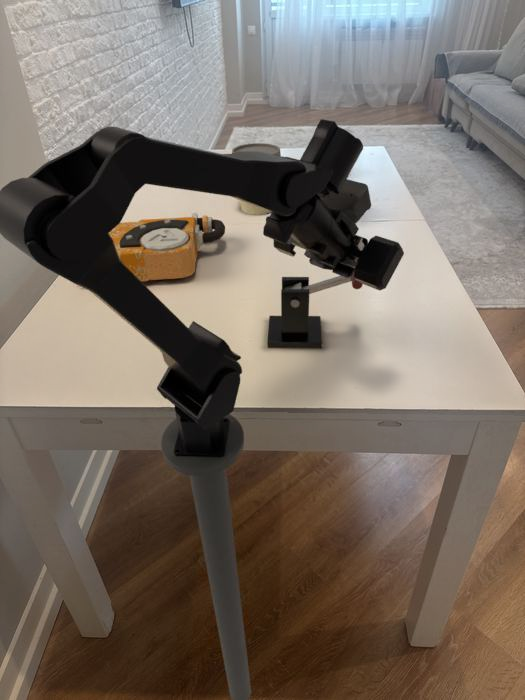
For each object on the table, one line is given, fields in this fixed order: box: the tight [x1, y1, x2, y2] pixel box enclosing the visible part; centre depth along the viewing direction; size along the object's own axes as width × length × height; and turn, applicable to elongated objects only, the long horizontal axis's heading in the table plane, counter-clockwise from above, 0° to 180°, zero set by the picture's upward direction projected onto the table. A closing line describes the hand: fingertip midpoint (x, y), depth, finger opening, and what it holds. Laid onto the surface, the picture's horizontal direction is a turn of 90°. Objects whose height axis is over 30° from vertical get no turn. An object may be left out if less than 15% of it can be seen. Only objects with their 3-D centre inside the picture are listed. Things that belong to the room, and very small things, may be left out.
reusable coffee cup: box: [231, 142, 282, 216], centre depth 126 cm, size 13×13×15 cm
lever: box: [285, 274, 364, 295], centre depth 78 cm, size 12×6×2 cm, turn 87°
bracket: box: [266, 276, 323, 349], centre depth 81 cm, size 9×8×10 cm
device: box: [109, 212, 226, 283], centre depth 105 cm, size 23×8×30 cm
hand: (355, 269), depth 75 cm, fingers closed
